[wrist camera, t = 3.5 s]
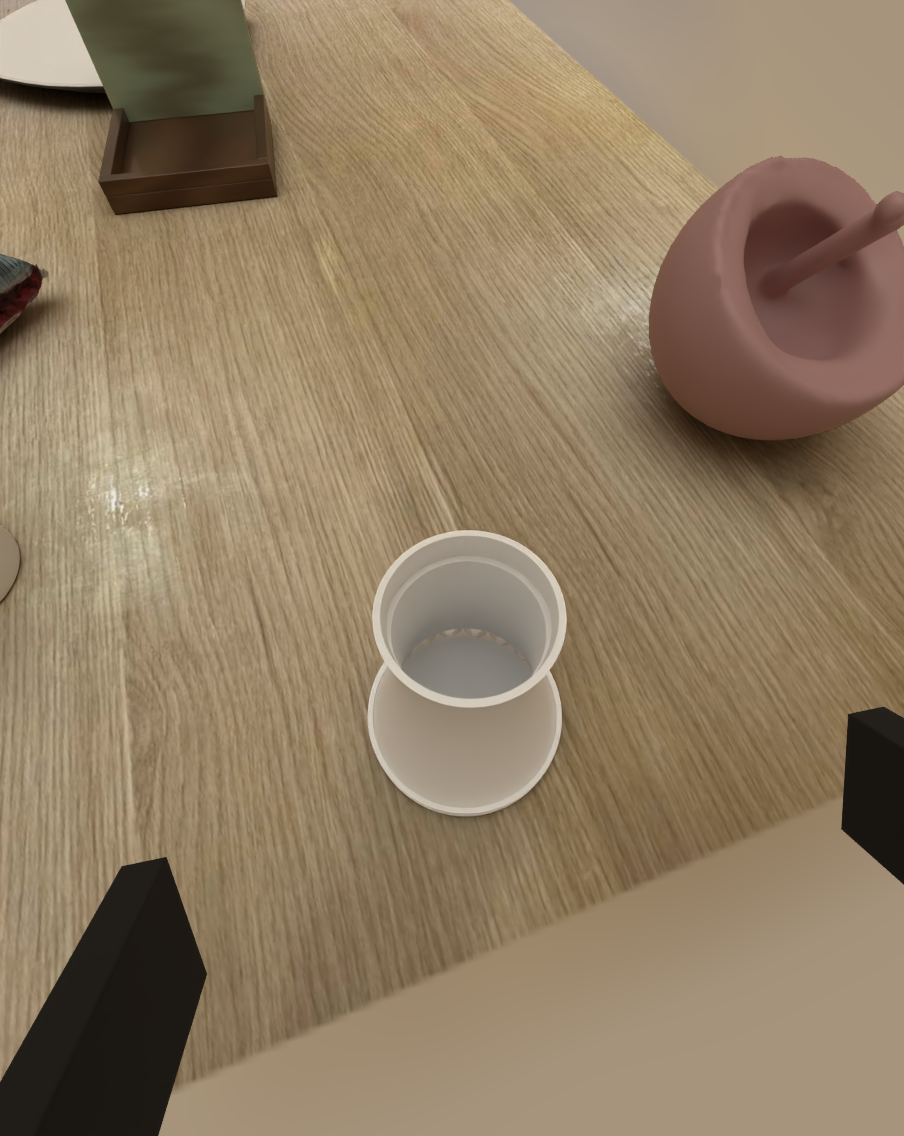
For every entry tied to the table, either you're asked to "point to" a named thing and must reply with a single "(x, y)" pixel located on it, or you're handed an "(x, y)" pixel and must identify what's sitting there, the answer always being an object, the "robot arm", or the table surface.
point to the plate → (46, 49)
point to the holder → (178, 102)
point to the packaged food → (17, 288)
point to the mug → (8, 561)
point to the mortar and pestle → (783, 303)
